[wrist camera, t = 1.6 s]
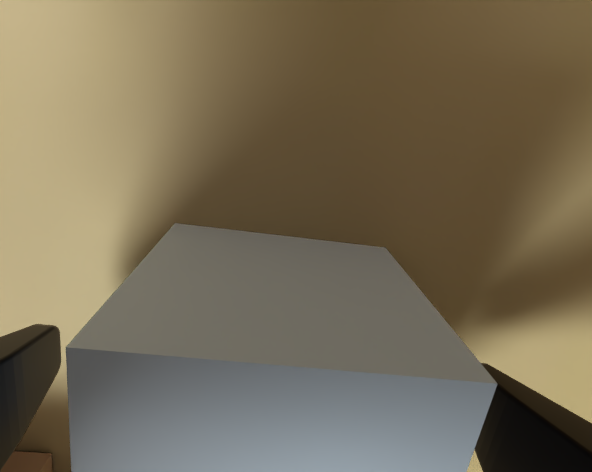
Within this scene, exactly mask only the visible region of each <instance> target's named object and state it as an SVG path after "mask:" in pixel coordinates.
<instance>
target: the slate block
mask: <svg viewBox="0 0 592 472" xmlns="http://www.w3.org/2000/svg"><path fill="white" fill-rule="evenodd" d="M66 363H67V385H68V408H69V431H70V454H71V472H466V471H467V469H468V466H469V463H470V460H471V457H472V455H473V452H474V449H475V446H476V443H477V440H478V438H479V435H480V432H481V429H482V426H483V424H484V421H485V418H486V415H487V412H488V409H489V407H490V404H491V401H492V398H493V395H494V392H495V390H496V387H497V382H496V381H495V380H494V379H493V378H492V376H491V375H490V374H489V373H488V371H487V370H486V369H485V368H484V367H483V365H482V364H481V363H480V362H479V361H478V359H477V358H476V357H475V356H474V354H473V353H472V352H471V351H470V350H469V348H468V347H467V346H466V345H465V344H464V342H463V341H462V340H461V339H460V337H459V336H458V335H457V334H456V333H455V331H454V330H453V329H452V328H451V327H450V325H449V324H448V323H447V322H446V320H445V319H444V318H443V317H442V316H441V314H440V313H439V312H438V311H437V310H436V308H435V307H434V306H433V305H432V303H431V302H430V301H429V300H428V299H427V297H426V296H425V295H424V294H423V293H422V291H421V290H420V289H419V288H418V286H417V285H416V284H415V283H414V282H413V280H412V279H411V278H410V277H409V276H408V274H407V273H406V272H405V271H404V269H403V268H402V267H401V266H400V265H399V263H398V262H397V261H396V260H395V259H394V257H393V256H392V255H391V254H390V252H389V251H388V250H387V249H386V248H385V247H377V246H368V245H360V244H351V243H342V242H334V241H325V240H317V239H308V238H299V237H291V236H282V235H274V234H265V233H256V232H248V231H239V230H231V229H222V228H213V227H205V226H196V225H188V224H179V223H175V224H174V225H173V226H172V227H171V228H170V229H169V231H168V232H167V233H166V234H165V235H164V236H163V237H162V239H161V240H160V241H159V242H158V243H157V244H156V245H155V246H154V248H153V249H152V250H151V251H150V252H149V253H148V254H147V256H146V257H145V258H144V259H143V260H142V261H141V262H140V264H139V265H138V266H137V267H136V268H135V269H134V270H133V271H132V273H131V274H130V275H129V276H128V277H127V278H126V279H125V281H124V282H123V283H122V284H121V285H120V286H119V287H118V289H117V290H116V291H115V292H114V293H113V294H112V295H111V296H110V298H109V299H108V300H107V301H106V302H105V303H104V304H103V306H102V307H101V308H100V309H99V310H98V311H97V312H96V314H95V315H94V316H93V317H92V318H91V319H90V320H89V321H88V323H87V324H86V325H85V326H84V327H83V328H82V329H81V331H80V332H79V333H78V334H77V335H76V336H75V337H74V339H73V340H72V341H71V342H70V343H69V344H68V345H67V346H66Z"/></svg>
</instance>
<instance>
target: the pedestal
mask: <svg viewBox="0 0 592 472" xmlns="http://www.w3.org/2000/svg"><path fill="white" fill-rule="evenodd" d="M0 472H53V470H52V454H51V453H35V452H18V451H13V453H12V454H11V456H10V457H9V459H8V460H7V462H6V463H5V465H4V466H3V468H2V469H1V471H0Z"/></svg>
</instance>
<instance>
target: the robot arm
mask: <svg viewBox="0 0 592 472" xmlns="http://www.w3.org/2000/svg"><path fill="white" fill-rule="evenodd" d="M60 364H61V347H60V332H59V329H58V328H57V327H56V326H53V325H43V324H35V325H32V326H29V327H26V328H24V329H21V330H18V331H16V332H13V333H10V334H8V335H5V336H2V337H0V471H1V469H2V468H3V466H4V465H5V463H6V462H7V460H8V459H9V457H10V456H11V454H12V453H13V451H14V450H15V448H16V447H17V445H18V444H19V442H20V441H21V439H22V437H23V435H24V434H25V432H26V430H27V428H28V427H29V425H30V423H31V421H32V419H33V417H34V415H35V414H36V412H37V410H38V408H39V406H40V404H41V402H42V401H43V399H44V397H45V395H46V393H47V391H48V390H49V388H50V386H51V384H52V382H53V380H54V378H55V377H56V375H57V373H58V371H59V368H60ZM481 364H482V365H483V367H484V368H485V369H486V370H487V371H488V373H489V374H490V375H491V376H492V378H493V379H494V380H495V381H496V382H497V387H496V390H495V392H494V395H493V398H492V401H491V404H490V407H489V409H488V412H487V415H486V418H485V421H484V424H483V426H482V429H481V432H480V435H479V438H478V440H477V443H476V446H475V452H476V454H477V457H478V460H479V462H480V465H481V467H482V470H483V472H592V423H590V422H588V421H587V420H585V419H583V418H581V417H580V416H578V415H576V414H574V413H573V412H571V411H569V410H567V409H565V408H564V407H562V406H560V405H558V404H557V403H555V402H553V401H551V400H550V399H548V398H546V397H544V396H543V395H541V394H539V393H537V392H536V391H534V390H532V389H530V388H529V387H527V386H525V385H523V384H522V383H520V382H518V381H516V380H515V379H513V378H511V377H509V376H508V375H506V374H504V373H502V372H501V371H499V370H497V369H495V368H494V367H492V366H490V365H488V364H485V363H481Z"/></svg>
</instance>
